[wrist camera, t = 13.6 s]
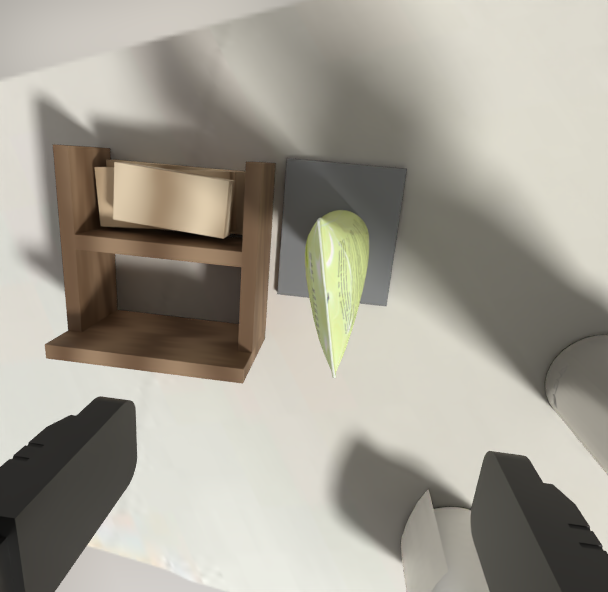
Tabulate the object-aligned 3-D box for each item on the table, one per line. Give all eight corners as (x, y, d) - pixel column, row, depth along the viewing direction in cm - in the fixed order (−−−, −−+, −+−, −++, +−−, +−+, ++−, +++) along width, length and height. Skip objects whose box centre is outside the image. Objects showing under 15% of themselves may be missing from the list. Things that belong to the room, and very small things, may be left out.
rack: (275, 163, 37) (253, 163, 29) (264, 338, 42) (242, 383, 34) (97, 147, 38) (24, 142, 30) (106, 319, 43) (46, 358, 35)
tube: (295, 234, 38) (242, 300, 20) (334, 191, 37) (318, 218, 18) (341, 277, 39) (333, 380, 20) (382, 236, 38) (413, 307, 19)
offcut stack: (254, 172, 38) (239, 173, 33) (251, 234, 39) (236, 244, 34) (116, 159, 39) (80, 158, 33) (119, 220, 40) (85, 229, 35)
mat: (406, 168, 36) (406, 168, 36) (385, 304, 40) (386, 306, 39) (287, 158, 37) (286, 158, 37) (278, 292, 41) (277, 294, 40)
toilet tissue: (457, 598, 49) (483, 703, 39) (370, 544, 48) (375, 639, 39) (523, 539, 46) (569, 638, 36) (431, 481, 45) (453, 566, 35)
